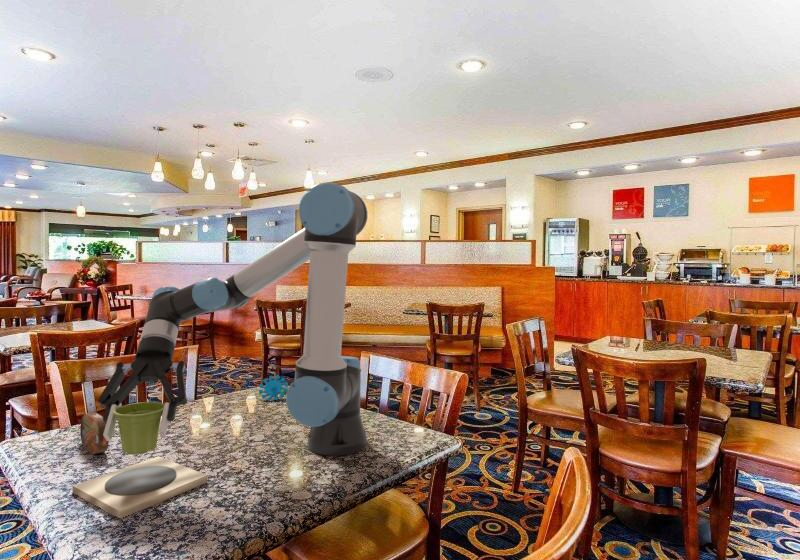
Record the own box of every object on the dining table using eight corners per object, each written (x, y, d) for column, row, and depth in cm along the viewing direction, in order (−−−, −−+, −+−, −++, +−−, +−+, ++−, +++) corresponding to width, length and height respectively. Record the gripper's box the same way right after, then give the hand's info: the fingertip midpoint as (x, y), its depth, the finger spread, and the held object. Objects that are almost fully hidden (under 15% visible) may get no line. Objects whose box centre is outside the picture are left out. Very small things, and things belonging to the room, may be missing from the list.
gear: (253, 396, 162) (264, 371, 169) (256, 405, 166) (267, 380, 173) (284, 402, 161) (294, 377, 168) (287, 410, 165) (296, 385, 172)
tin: (79, 442, 123) (78, 410, 123) (93, 439, 125) (93, 407, 125) (96, 459, 113) (96, 423, 112) (111, 455, 115) (111, 420, 115)
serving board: (207, 482, 101) (207, 473, 101) (119, 519, 86) (119, 509, 86) (158, 462, 111) (158, 454, 111) (72, 492, 96) (72, 484, 96)
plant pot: (116, 444, 101) (117, 403, 101) (166, 438, 105) (166, 399, 105) (109, 461, 92) (109, 417, 92) (163, 454, 96) (164, 412, 96)
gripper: (209, 352, 115) (196, 441, 101) (108, 354, 111) (78, 447, 96) (206, 334, 110) (191, 424, 95) (99, 334, 105) (66, 430, 90)
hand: (135, 436), depth 95 cm, fingers closed on plant pot, 9 cm apart
